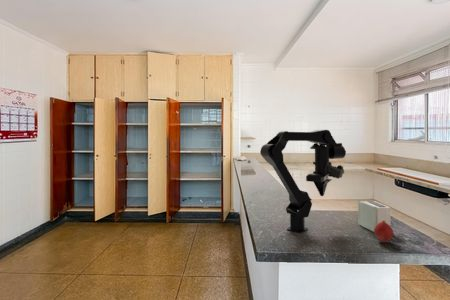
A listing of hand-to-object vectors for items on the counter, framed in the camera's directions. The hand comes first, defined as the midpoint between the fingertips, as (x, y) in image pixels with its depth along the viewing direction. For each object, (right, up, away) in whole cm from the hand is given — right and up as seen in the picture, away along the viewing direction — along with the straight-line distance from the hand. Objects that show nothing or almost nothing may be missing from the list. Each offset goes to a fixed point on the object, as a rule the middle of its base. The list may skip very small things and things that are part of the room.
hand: (322, 195), depth 113 cm
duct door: (+17, -13, -4) cm, 21 cm away
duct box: (+21, -13, -4) cm, 25 cm away
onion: (+15, -14, -18) cm, 27 cm away
